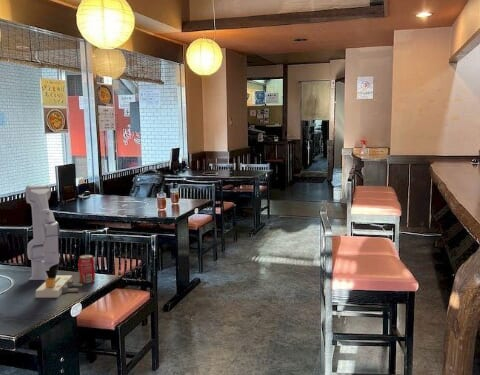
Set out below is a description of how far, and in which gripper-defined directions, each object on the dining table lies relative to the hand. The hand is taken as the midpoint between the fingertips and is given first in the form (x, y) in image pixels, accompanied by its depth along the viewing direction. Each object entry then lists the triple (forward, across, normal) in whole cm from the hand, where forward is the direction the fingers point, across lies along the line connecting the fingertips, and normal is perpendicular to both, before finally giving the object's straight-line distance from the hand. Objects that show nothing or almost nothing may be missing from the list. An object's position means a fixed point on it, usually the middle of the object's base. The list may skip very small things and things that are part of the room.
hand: (52, 281), depth 196 cm
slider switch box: (+4, -3, 0) cm, 5 cm away
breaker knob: (+1, +2, 0) cm, 2 cm away
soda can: (+5, -13, +11) cm, 18 cm away
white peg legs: (+4, -3, +8) cm, 9 cm away
